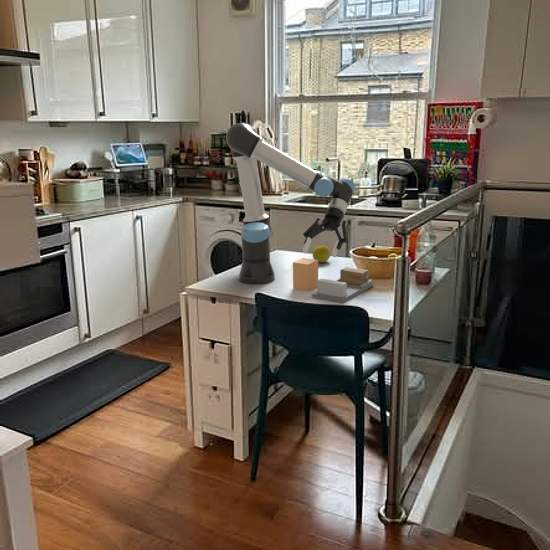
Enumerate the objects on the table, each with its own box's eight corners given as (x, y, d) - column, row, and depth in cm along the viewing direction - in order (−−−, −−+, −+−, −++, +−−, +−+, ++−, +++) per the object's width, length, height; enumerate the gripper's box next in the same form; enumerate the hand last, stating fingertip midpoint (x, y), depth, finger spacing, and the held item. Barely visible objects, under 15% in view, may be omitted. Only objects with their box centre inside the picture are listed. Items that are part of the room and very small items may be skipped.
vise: (344, 280, 230) (344, 265, 228) (373, 285, 223) (373, 270, 221) (312, 297, 209) (312, 281, 208) (342, 303, 202) (342, 286, 200)
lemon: (320, 265, 254) (320, 248, 252) (308, 262, 260) (308, 246, 258) (335, 261, 261) (336, 245, 259) (323, 258, 267) (324, 242, 265)
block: (303, 283, 227) (303, 257, 224) (318, 286, 224) (318, 260, 220) (293, 288, 221) (292, 262, 218) (307, 291, 217) (307, 264, 214)
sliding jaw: (346, 278, 227) (346, 266, 226) (368, 282, 222) (368, 270, 220) (340, 281, 223) (340, 269, 222) (362, 285, 218) (362, 273, 216)
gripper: (365, 219, 229) (349, 262, 221) (313, 214, 242) (296, 254, 235) (360, 208, 223) (342, 252, 215) (307, 204, 237) (289, 245, 229)
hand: (318, 253), depth 225 cm, fingers open, 13 cm apart
